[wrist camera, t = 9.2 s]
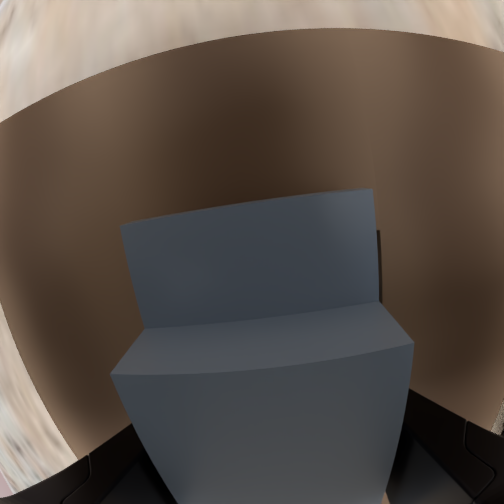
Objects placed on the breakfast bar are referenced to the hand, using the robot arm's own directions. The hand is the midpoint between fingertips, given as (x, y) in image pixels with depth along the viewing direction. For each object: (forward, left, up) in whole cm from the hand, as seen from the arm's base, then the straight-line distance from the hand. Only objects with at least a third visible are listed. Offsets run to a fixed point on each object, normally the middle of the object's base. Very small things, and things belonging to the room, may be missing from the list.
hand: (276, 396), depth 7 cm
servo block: (0, 0, -3) cm, 3 cm away
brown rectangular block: (0, 0, -4) cm, 4 cm away
